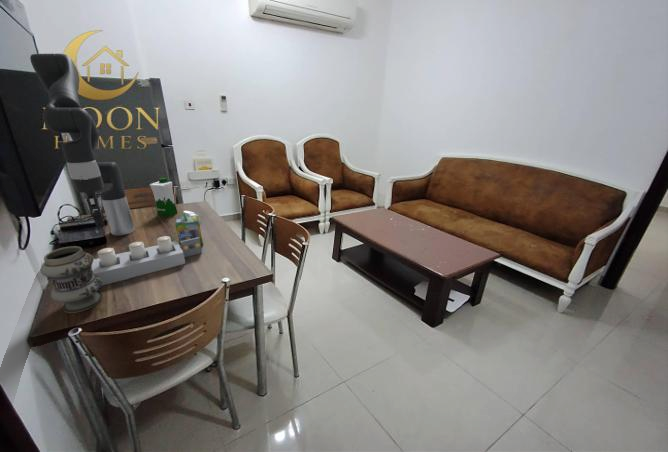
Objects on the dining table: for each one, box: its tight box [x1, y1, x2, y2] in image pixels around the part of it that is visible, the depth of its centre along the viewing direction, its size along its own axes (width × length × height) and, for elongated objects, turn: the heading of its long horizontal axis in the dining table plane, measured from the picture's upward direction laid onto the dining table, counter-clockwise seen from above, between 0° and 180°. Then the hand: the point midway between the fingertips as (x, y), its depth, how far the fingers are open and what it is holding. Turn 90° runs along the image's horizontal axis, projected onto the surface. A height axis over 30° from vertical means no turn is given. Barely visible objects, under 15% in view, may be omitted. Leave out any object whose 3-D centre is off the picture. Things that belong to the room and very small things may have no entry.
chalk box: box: [174, 211, 204, 249], centre depth 128 cm, size 9×9×15 cm
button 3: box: [156, 235, 173, 253], centre depth 113 cm, size 5×5×5 cm
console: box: [91, 240, 186, 286], centre depth 110 cm, size 12×28×5 cm, turn 126°
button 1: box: [97, 247, 118, 267], centre depth 103 cm, size 5×5×5 cm
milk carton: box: [149, 177, 178, 218], centre depth 157 cm, size 9×9×20 cm
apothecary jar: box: [40, 245, 104, 314], centre depth 88 cm, size 12×12×18 cm
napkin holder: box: [182, 210, 201, 225], centre depth 151 cm, size 15×11×6 cm
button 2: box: [128, 241, 146, 259], centre depth 108 cm, size 5×5×5 cm
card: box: [180, 237, 203, 258], centre depth 119 cm, size 1×7×7 cm, turn 126°
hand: (100, 222), depth 98 cm, fingers open, 8 cm apart
